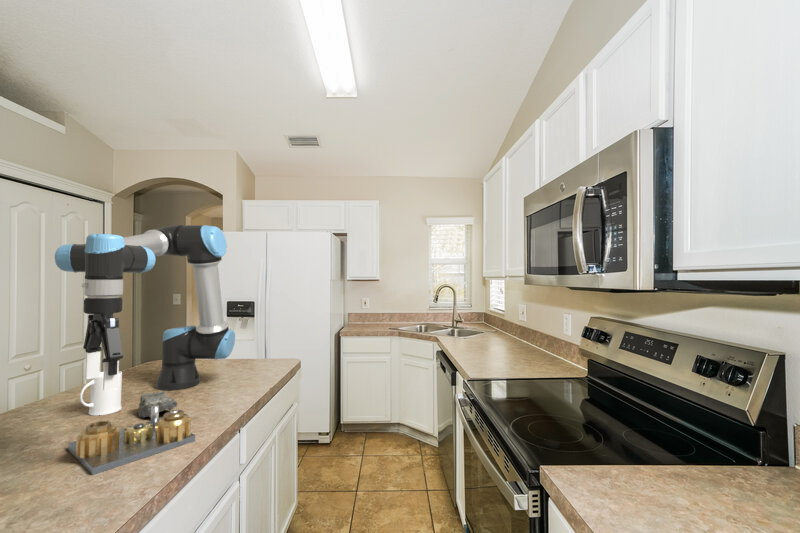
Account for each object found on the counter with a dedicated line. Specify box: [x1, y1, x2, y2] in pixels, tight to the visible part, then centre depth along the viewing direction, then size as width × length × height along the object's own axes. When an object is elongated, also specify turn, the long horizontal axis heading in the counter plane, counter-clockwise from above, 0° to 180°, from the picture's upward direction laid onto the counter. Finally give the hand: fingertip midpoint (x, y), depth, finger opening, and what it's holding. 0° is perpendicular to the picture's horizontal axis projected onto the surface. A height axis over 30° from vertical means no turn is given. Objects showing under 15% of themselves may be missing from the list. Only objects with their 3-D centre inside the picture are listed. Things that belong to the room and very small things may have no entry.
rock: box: [138, 390, 178, 419], centre depth 120 cm, size 13×9×6 cm, turn 67°
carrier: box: [67, 405, 196, 476], centre depth 98 cm, size 22×21×8 cm
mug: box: [79, 371, 123, 417], centre depth 121 cm, size 12×8×12 cm
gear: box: [75, 420, 120, 458], centre depth 92 cm, size 8×8×6 cm
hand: (101, 383), depth 92 cm, fingers open, 13 cm apart
